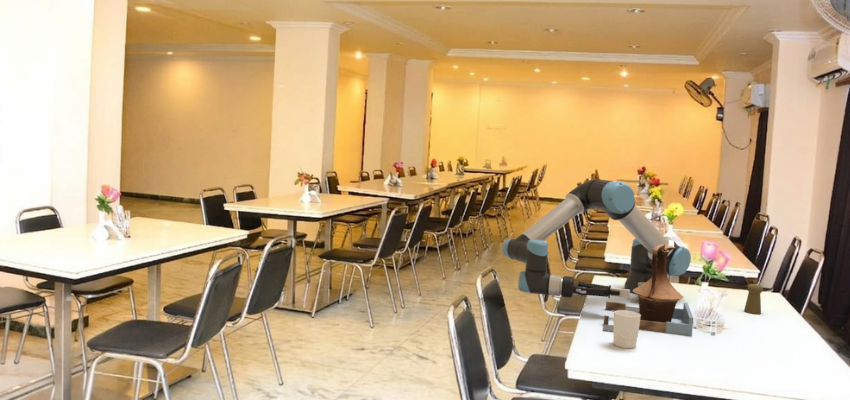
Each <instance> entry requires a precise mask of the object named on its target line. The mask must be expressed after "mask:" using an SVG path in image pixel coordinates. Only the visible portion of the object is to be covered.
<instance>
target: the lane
mask: <svg viewBox="0 0 850 400" xmlns="http://www.w3.org/2000/svg"><path fill="white" fill-rule="evenodd" d="M626 306H627V304H626V302H625V303H623V302H616V301H607V300H606V304H605V311H611V310H614V311H617V310H625V308H626ZM614 311H613V312H614ZM603 318H604V319H603V325H604V324H606V325H609V320H610V319H609V318H610V315H606V314H605V315H603ZM640 329H642V330H641V331H648V330H649V331H650V332H658V333H665V334H666V323H662V322H654V321H646V320H640V325H639V330H640Z"/></svg>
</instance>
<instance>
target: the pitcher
mask: <svg viewBox="0 0 850 400" xmlns="http://www.w3.org/2000/svg"><path fill="white" fill-rule="evenodd" d="M674 248H676V247H672V246H667V245H665V244H661V245H658V246H656V247H655V248H653V249H652V250H653V255H652V277H651V279H650V280H648V281H647V282H646V283H644V284H643V285H641V286H639V287H637V288H635V289H633V292H634V293H633V294H636V295H637V299H638V308H639V314H640V315H641V317H640V320H646V321H654V322H662V323H666V322H673V321H672V320H673V318H672V317H673V313H674V309H675V308H676V306H677V303H678V302H679V301H680V300H682V299H684V298H685V297H684V295H682V294H681V293H680V292H679V291H677V289H676V288H675V287H674V286H673V284H672V283H671V282H670V280H669V277H668V273H667V272H666V260H667V256H668V253H669V251H671V250H672V249H674ZM657 258H658V259H657Z"/></svg>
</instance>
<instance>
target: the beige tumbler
mask: <svg viewBox="0 0 850 400" xmlns="http://www.w3.org/2000/svg"><path fill="white" fill-rule="evenodd" d="M640 317H641V315H640V314H639V313H636V312H633V311H626V310H617V311H613V325H614V326H613V332H612V333H613V335H612V336H613V339H612V340H613V341H612V343H613V345H614V346H616V347H618V348H623V349H635V348H636V347H637V341H638V340H637V339H638V337H639V330H640V329H639V325H640Z"/></svg>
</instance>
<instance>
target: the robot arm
mask: <svg viewBox="0 0 850 400" xmlns="http://www.w3.org/2000/svg"><path fill="white" fill-rule="evenodd" d="M636 205H637V203H636V197H635V192H634V190H633V188H632V187H631V186H630V185H629V184H628V183H626V182H622V181H619V180H606V179H599V178H593V179H590V180H586V181H584V182H582V183H581V184H579V185H578V186H575V187H574V188H573V189H572V190H570V191H569V192H568V193H566V195H565V198H564V199H563V200H562V201H561V202H559V203H558V204H557V205H556V206H554V208H552V209H551V210H550V211H549V212H547V213H546V214H545V215H543V216H542V217H541V218H540V219H538V221H536V222H535V223H533V224H532V225H531V226H530V227H528V228H527V229H526V230H524V232H522V233H521V234H520V235H518V236H517V237H516V238H514V237H513V238H508V239H506V240H505V241H504V242H503V245H502V254H503V255H504V256H505V257H507V258H508V259H510V260H514V261H517V262H521V263H523V264H525V270H524V271H523V270H522V271H520V273H519V275H518V290H519V291H520V292H523V293H527V294H531V295H532V294H535V295H544V296H545V295H546V296H551V297H552V298H554V297H560V296H561V297H562V298H572V297H573V294H574V293H575V294H577V295H580V296H581V297H582V296H590V297H592V296H593V297H605V298H608V299H611V297H615V298H624V299H625V298H626V299H630V294H631V293H632V292H633V289H635V288H637V287H638V283H639V282H647V281H648V280H650V279H651V277H652V255H653V250H652V249H653V248H655V247H656V246H658V245H661V244H665V245H667V246H672V247H676V248H674V249H672V250H671V251H669V253H668V256H667V260H666V272H667V274H669V275H672V276H682V275H684V274H685V273H686V272H687V271H688V269H689V267H690V265H691V262H692V261H691V259H692V254H691V252H690V250H689V249H688V248H686V247H684V246H681V245H678V243H676V242H675V241H674V239H672V238H671V236H670V237H669V236H664V235H663V233H661V231H660V230H659V229H658V228H657V227H656V226H655V225H654V224H653V222H652V221H651V220H649V218H648V217H647V216H646V215H645V214H644V213H643V211H641V210H640V209H639V208H638V207H637V206H636ZM593 209H594V210H601V211H603V212H604V213H605V214H606V215H607V216H608V217H609V218H610V219H611V220H613V221H618V222H620V223H621V225H622V226H624V228H625V229H626V230H627V231H628V232H629V233H630V234H631V235H632V236H633V237H634V239H633V240H632V246H631V249H630V251H631V252H630V253H631V254H630V267H629V268H630V269H629V273H628V276H627V278H626V280H625V282H624V286H623V288H620V287H619V288H618V287H612V285H603V284H597V283H590V282H587V281H586V282H585V281H578V282H574V281H575V279H574V277H573V276H569V275H568V276H566V275H564V276H562V275H560V274H548V273H547V266H548V265H547V264H548V255H549V251H548V250H549V243H548V242H547V241H546V240H547V239H549V238H550V237H551V236H552V235H554V234H555V233H556V232H557V231H559V230H560V229H561V228H563V226H565V225H566V224H568V222H570V221H571V220H572V219H573V218H575V217H576V216H577V215H581V214H583V213H585V212H586V211H589V210H593ZM657 259H658V258H657Z"/></svg>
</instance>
